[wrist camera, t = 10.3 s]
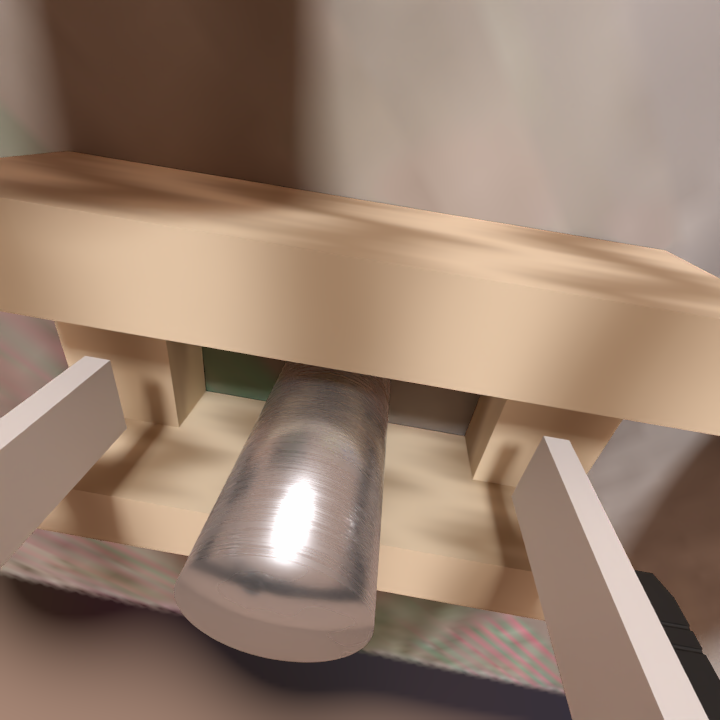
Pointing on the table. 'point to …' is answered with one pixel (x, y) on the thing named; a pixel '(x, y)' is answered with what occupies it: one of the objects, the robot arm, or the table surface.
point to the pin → (297, 523)
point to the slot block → (348, 348)
